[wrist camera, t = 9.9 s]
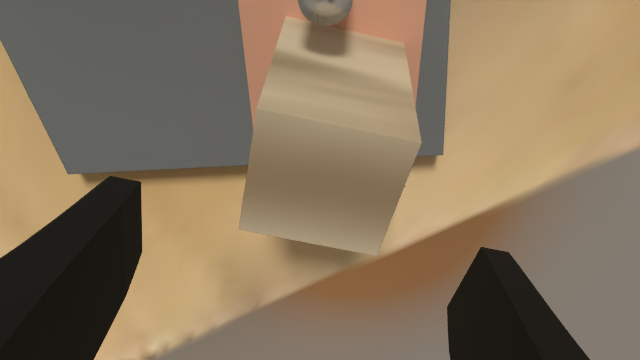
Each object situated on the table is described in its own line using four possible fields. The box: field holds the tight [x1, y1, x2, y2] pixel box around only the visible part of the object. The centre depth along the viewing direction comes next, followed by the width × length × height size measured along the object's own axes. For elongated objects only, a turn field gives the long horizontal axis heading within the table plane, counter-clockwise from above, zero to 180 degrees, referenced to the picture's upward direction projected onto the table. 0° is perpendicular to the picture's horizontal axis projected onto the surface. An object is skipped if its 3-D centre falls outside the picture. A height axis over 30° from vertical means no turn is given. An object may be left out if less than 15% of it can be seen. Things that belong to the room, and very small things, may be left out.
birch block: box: [239, 16, 422, 256], centre depth 16 cm, size 4×4×6 cm
